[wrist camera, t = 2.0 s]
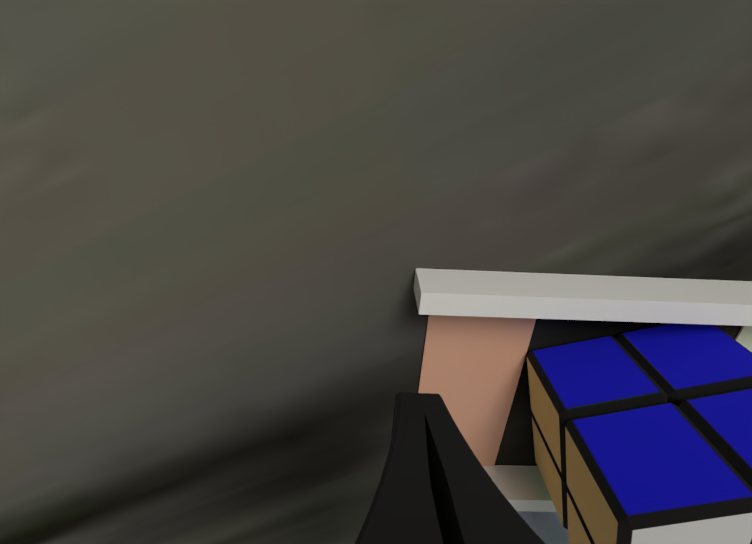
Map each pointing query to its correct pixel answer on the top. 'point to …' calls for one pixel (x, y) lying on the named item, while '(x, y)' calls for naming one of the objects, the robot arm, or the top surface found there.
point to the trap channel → (513, 333)
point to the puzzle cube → (647, 436)
